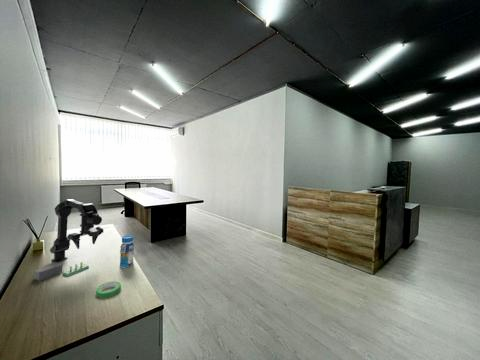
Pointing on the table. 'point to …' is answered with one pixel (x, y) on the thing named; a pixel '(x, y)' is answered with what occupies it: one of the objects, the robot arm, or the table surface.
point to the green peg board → (75, 269)
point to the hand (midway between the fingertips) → (86, 246)
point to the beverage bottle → (126, 252)
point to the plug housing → (47, 271)
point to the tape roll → (108, 293)
